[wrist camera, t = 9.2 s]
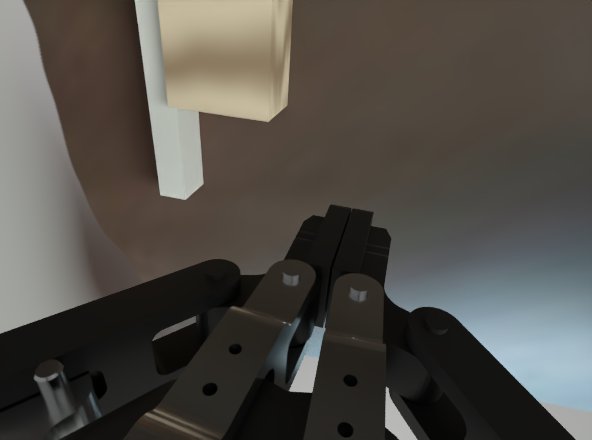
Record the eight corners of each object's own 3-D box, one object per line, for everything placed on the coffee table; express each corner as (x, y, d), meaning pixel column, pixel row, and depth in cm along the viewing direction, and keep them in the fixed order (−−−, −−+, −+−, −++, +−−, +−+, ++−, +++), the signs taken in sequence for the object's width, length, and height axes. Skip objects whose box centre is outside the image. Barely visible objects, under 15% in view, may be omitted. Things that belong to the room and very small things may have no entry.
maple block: (192, -15, 31) (156, -16, 26) (293, -7, 29) (271, -6, 25) (198, 92, 35) (168, 106, 31) (287, 104, 33) (268, 121, 29)
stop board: (154, -72, 29) (124, -78, 26) (186, -70, 29) (158, -77, 26) (180, 179, 39) (160, 195, 37) (203, 183, 39) (185, 199, 36)
